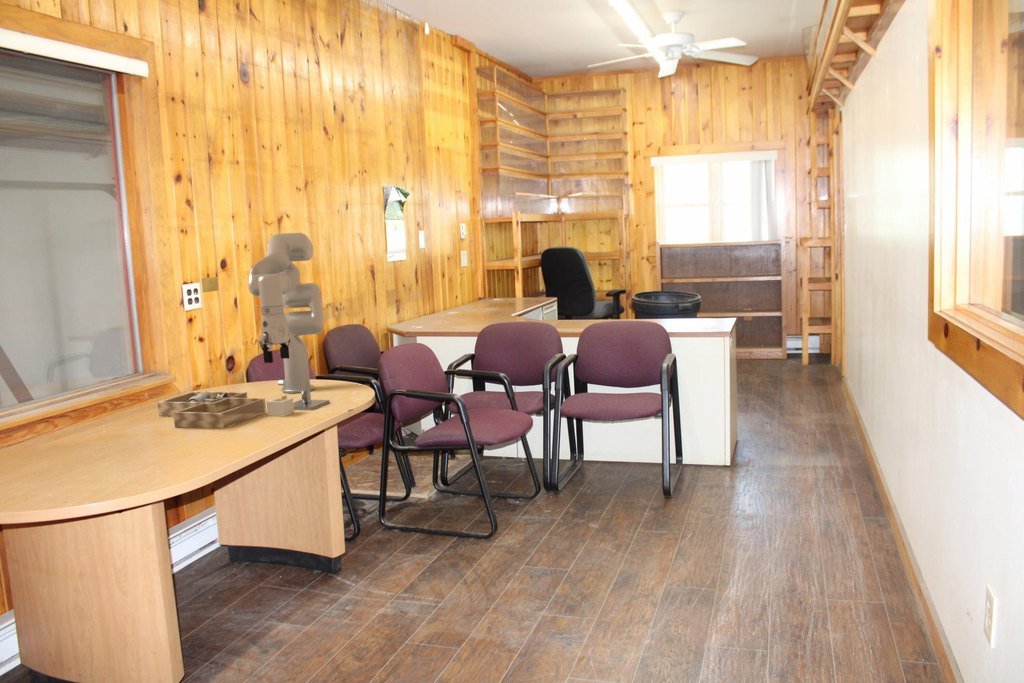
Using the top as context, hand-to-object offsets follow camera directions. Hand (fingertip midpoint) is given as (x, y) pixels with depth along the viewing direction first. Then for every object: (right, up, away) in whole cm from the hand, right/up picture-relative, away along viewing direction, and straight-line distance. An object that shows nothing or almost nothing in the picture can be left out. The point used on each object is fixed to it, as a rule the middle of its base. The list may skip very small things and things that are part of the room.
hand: (277, 360), depth 287 cm
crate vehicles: (-19, -20, -1) cm, 28 cm away
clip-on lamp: (-31, -19, +15) cm, 39 cm away
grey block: (+1, -19, +2) cm, 19 cm away
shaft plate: (+7, -17, +14) cm, 23 cm away
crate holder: (-31, -19, +15) cm, 39 cm away
